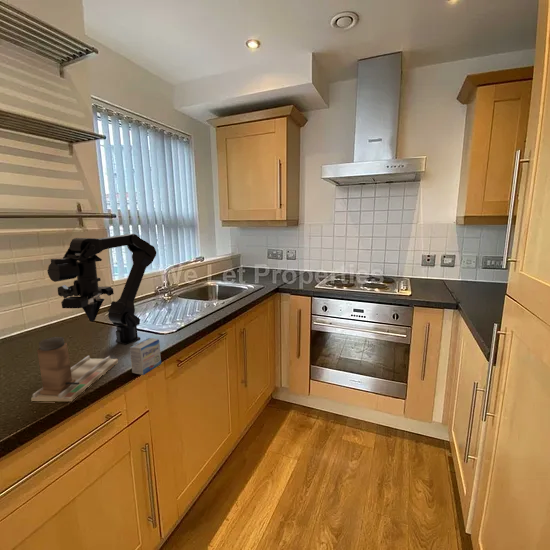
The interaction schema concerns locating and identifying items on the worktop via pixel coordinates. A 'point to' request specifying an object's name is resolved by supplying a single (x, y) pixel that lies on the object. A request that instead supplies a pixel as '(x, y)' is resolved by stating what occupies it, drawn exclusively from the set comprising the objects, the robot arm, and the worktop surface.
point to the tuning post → (54, 366)
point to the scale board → (80, 378)
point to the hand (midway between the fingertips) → (92, 321)
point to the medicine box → (145, 356)
